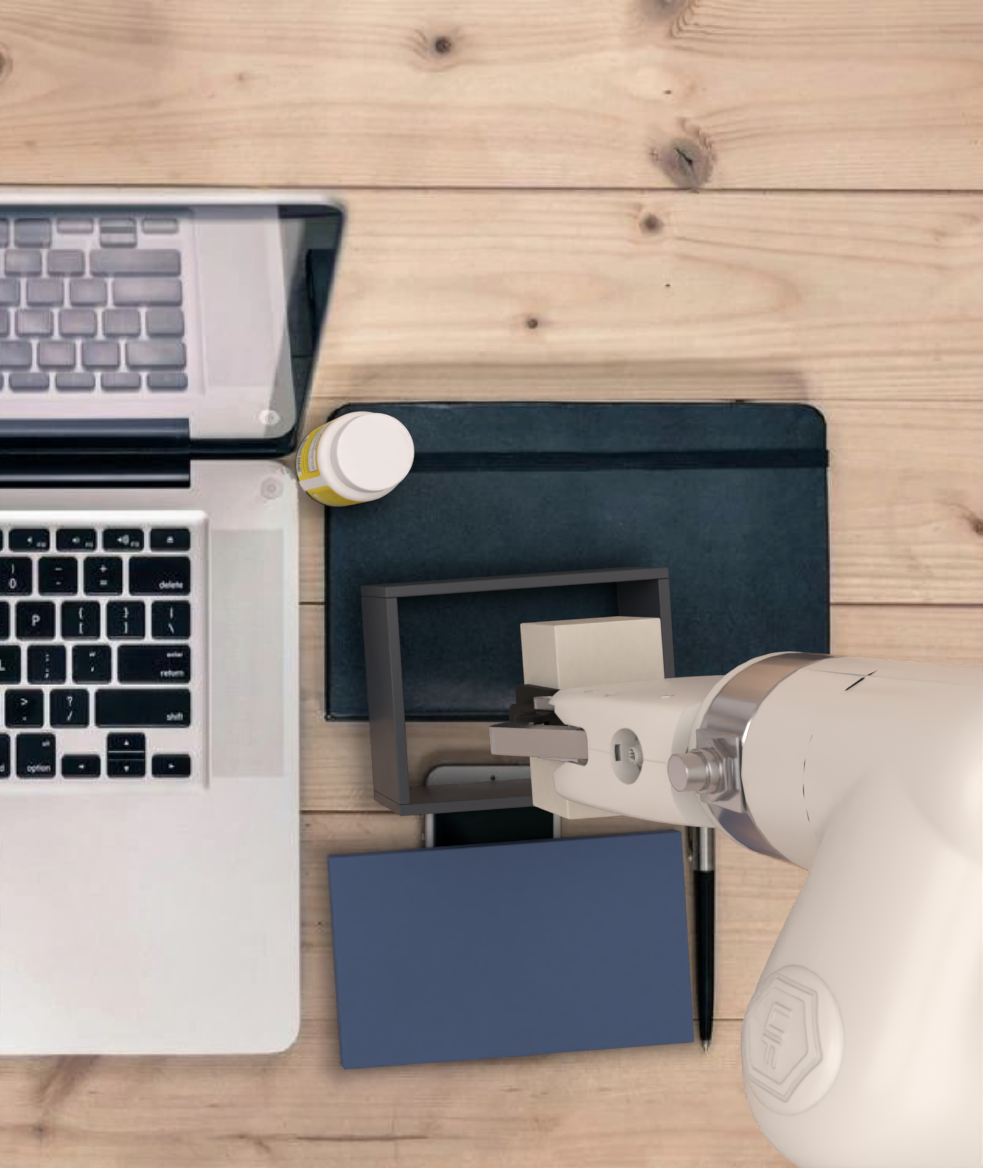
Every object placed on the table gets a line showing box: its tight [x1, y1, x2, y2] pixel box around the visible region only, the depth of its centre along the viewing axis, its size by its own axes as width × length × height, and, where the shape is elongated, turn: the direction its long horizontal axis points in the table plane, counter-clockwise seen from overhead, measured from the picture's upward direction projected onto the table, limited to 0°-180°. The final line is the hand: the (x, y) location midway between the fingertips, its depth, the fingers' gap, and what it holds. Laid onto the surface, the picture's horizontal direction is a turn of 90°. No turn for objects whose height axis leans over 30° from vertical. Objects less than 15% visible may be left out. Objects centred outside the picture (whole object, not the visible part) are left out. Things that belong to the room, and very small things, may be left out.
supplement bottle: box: [294, 411, 415, 508], centre depth 71 cm, size 5×5×8 cm
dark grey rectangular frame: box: [359, 566, 676, 817], centre depth 73 cm, size 12×15×6 cm
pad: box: [326, 828, 695, 1071], centre depth 75 cm, size 12×20×2 cm, turn 94°
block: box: [520, 615, 664, 820], centre depth 63 cm, size 9×5×4 cm, turn 4°
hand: (583, 712), depth 64 cm, fingers closed on block, 5 cm apart
